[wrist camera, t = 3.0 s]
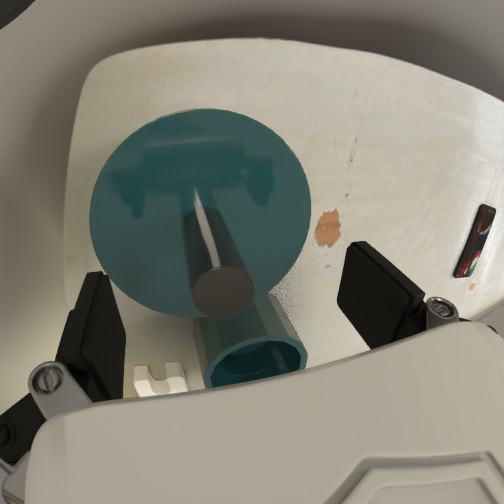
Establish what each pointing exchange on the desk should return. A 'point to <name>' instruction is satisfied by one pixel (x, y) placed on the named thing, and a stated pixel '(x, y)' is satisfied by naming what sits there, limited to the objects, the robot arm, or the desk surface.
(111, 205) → the lid
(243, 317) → the pot
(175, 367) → the slotted bracket
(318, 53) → the desk surface
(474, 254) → the smartphone
